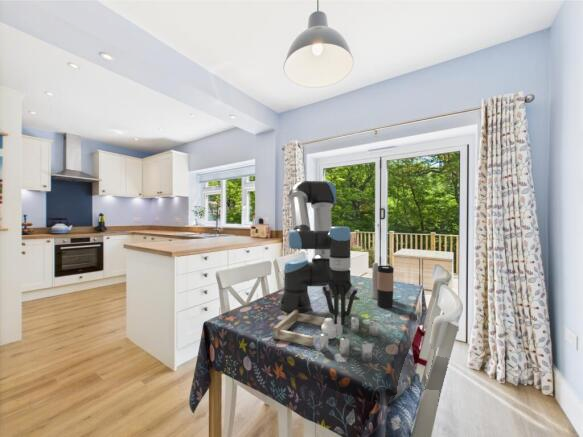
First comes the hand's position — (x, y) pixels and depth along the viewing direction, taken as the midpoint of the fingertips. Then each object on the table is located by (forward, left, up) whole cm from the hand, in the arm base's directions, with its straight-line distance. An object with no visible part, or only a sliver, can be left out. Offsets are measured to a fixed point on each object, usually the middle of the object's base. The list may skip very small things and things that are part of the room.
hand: (339, 333), depth 93 cm
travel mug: (+13, +45, -2) cm, 47 cm away
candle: (+12, +59, -2) cm, 60 cm away
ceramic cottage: (-14, +54, -3) cm, 56 cm away
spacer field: (+4, 0, -2) cm, 4 cm away
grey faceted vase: (-3, 0, -2) cm, 4 cm away
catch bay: (-15, 0, -2) cm, 15 cm away
